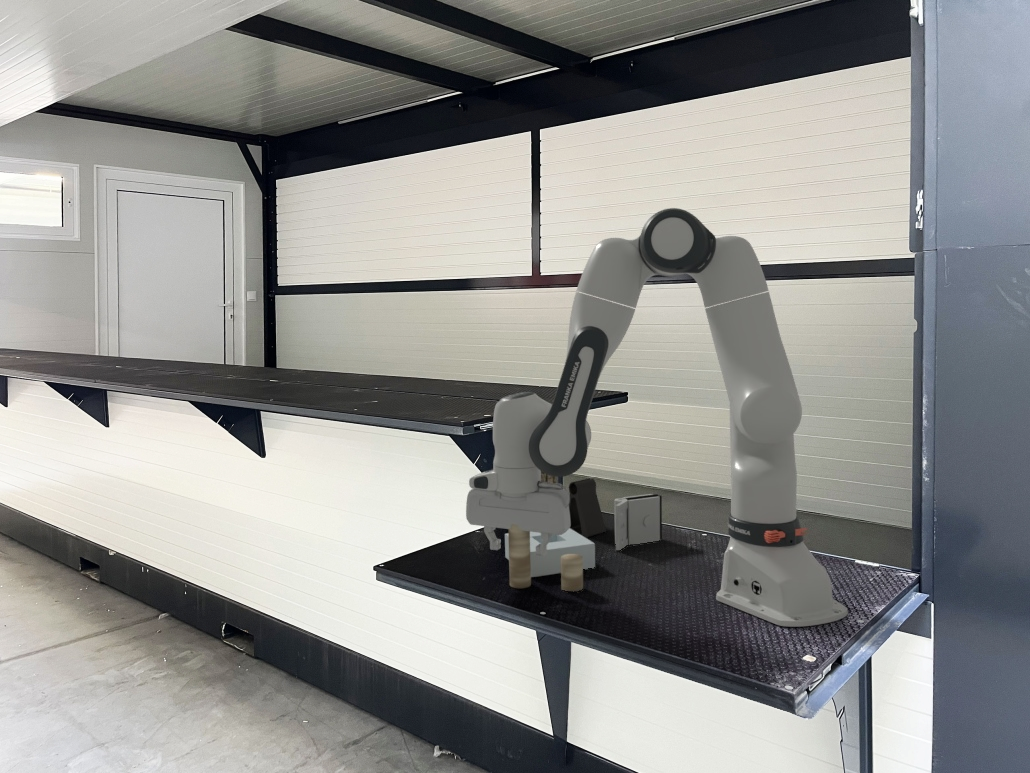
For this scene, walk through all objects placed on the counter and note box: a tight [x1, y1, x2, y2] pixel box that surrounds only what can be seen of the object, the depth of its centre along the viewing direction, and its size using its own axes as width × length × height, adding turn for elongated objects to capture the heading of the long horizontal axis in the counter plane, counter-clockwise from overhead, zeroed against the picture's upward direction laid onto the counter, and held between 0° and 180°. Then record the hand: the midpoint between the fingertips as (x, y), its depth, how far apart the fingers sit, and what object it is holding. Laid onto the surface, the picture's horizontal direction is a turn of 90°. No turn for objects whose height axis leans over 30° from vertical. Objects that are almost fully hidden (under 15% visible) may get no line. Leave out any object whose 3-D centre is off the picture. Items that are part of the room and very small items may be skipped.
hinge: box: [613, 493, 663, 551], centre depth 175 cm, size 14×5×10 cm, turn 125°
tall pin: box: [507, 524, 532, 589], centre depth 150 cm, size 4×4×12 cm
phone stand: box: [568, 477, 607, 539], centre depth 185 cm, size 9×6×12 cm, turn 40°
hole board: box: [504, 528, 596, 578], centre depth 163 cm, size 14×14×5 cm
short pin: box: [560, 554, 584, 592], centre depth 148 cm, size 4×4×6 cm
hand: (518, 552), depth 150 cm, fingers open, 8 cm apart
